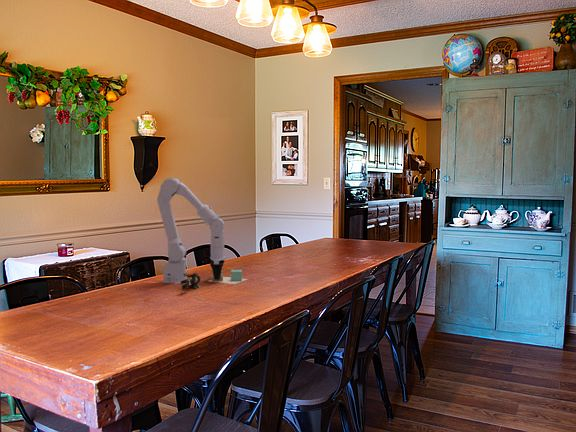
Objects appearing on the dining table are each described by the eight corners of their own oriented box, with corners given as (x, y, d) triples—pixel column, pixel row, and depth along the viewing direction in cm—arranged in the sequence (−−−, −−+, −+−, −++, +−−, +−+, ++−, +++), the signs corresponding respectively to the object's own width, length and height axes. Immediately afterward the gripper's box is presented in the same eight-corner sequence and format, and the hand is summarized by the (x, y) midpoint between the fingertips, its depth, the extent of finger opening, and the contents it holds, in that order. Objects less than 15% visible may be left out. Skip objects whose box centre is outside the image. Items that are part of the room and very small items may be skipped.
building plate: (234, 285, 205) (234, 284, 205) (206, 282, 211) (206, 280, 211) (247, 280, 215) (247, 279, 215) (221, 277, 221) (221, 276, 221)
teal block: (241, 281, 211) (241, 271, 211) (231, 281, 211) (231, 271, 210) (241, 278, 216) (241, 269, 215) (231, 279, 215) (231, 269, 215)
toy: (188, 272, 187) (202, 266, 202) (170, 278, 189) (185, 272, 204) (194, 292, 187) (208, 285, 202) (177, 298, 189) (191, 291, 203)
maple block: (222, 281, 211) (222, 271, 210) (211, 281, 210) (211, 271, 210) (223, 279, 215) (223, 269, 215) (212, 279, 215) (212, 270, 214)
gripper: (226, 249, 205) (226, 281, 206) (227, 244, 219) (227, 274, 220) (208, 249, 204) (208, 281, 205) (211, 244, 219) (211, 275, 220)
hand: (217, 278), depth 213 cm, fingers closed on maple block, 4 cm apart
